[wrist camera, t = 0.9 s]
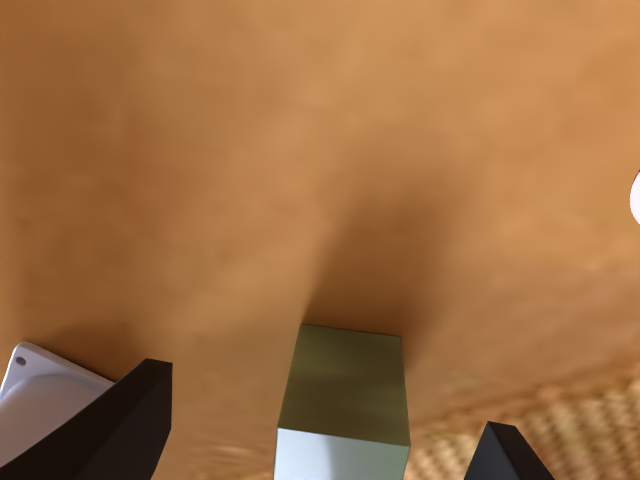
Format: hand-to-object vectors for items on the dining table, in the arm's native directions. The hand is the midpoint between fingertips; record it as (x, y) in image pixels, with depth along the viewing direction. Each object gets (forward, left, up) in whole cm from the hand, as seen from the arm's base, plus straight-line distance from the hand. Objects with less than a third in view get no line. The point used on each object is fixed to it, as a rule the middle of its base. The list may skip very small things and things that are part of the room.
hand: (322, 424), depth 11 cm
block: (-5, -3, -10) cm, 12 cm away
